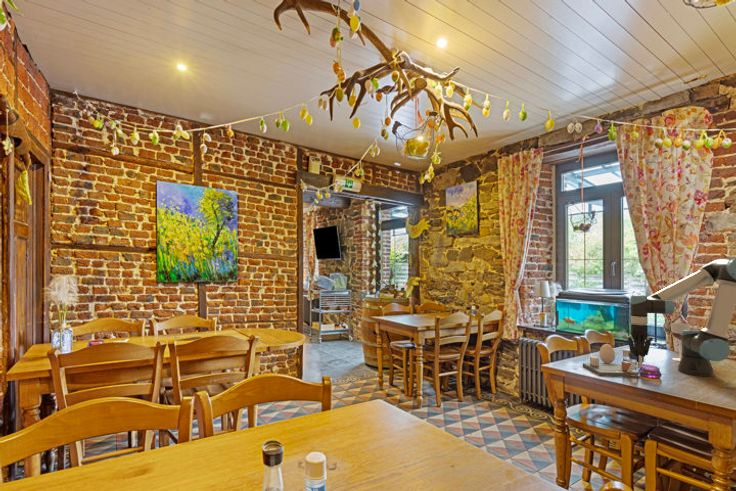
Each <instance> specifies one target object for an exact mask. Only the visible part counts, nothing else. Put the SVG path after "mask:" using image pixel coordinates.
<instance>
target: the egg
mask: <svg viewBox="0 0 736 491" xmlns="http://www.w3.org/2000/svg"><path fill="white" fill-rule="evenodd" d="M598 353H599V359H600V360H601V362H603V364H613V362H614V361H615V359H616V352H615V350H614V348H613V346H611V345H610V344H609V343H605V344H603V345H602V346H600V349H599V352H598Z"/></svg>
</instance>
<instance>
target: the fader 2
mask: <svg viewBox="0 0 736 491" xmlns="http://www.w3.org/2000/svg"><path fill="white" fill-rule="evenodd" d="M631 363H632V362H629V361H628V360H627V361H625V360H623V361H621V364H620V365H622V369H623V370H625V371H628V369H629V367H630V365H631Z"/></svg>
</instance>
